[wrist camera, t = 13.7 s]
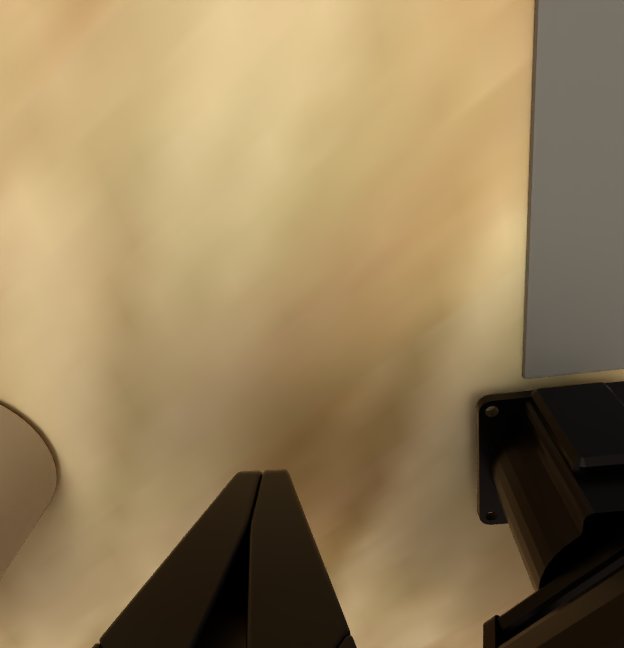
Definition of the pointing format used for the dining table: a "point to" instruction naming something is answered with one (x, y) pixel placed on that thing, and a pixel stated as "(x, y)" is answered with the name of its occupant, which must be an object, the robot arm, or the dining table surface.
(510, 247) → the dining table surface
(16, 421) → the travel mug
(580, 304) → the track mat
